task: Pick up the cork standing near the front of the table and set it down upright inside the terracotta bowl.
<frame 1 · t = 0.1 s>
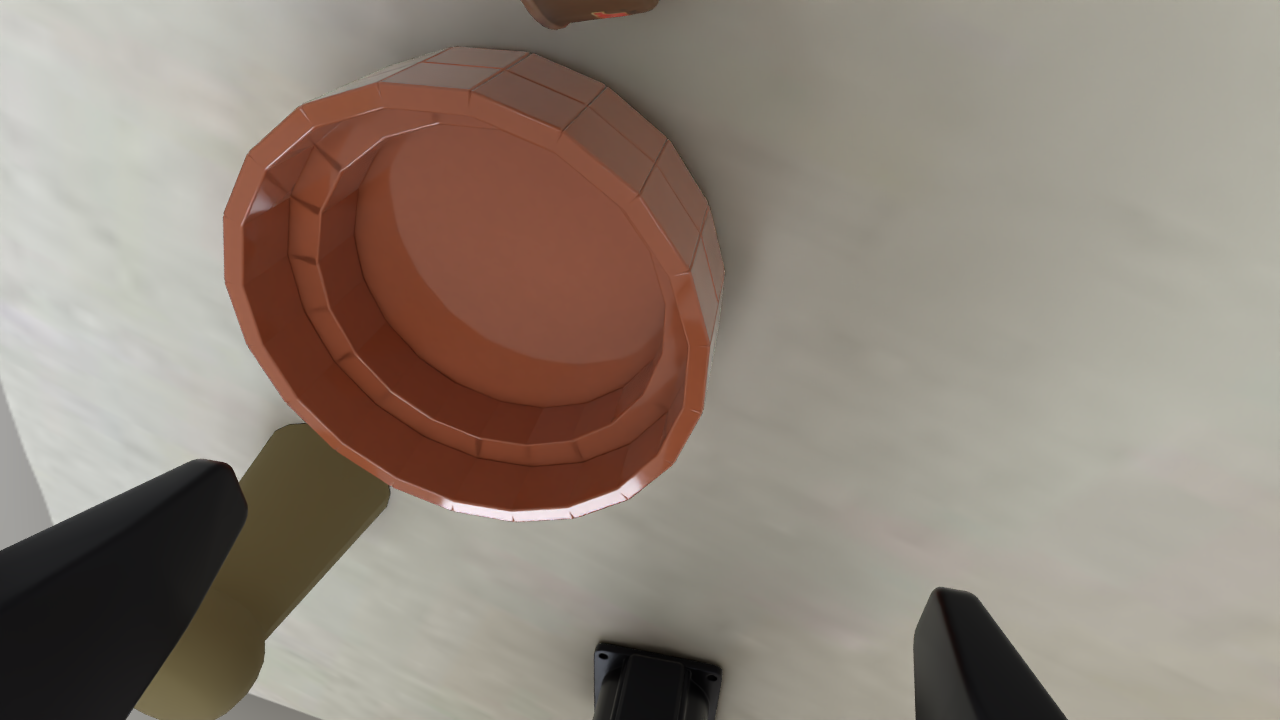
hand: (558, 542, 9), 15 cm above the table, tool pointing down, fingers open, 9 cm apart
cork: (330, 471, 32), on the table
bowl: (517, 267, 24), on the table
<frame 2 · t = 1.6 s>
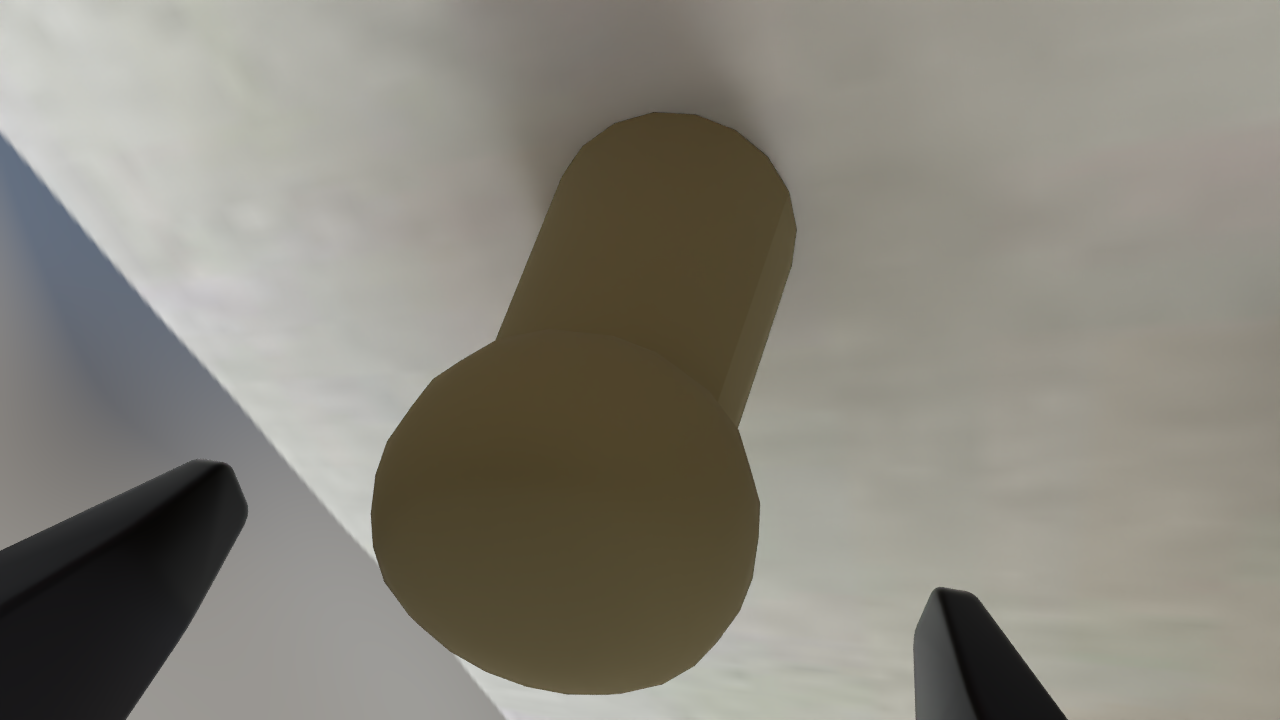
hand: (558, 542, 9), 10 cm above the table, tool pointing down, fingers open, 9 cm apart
cork: (672, 234, 17), on the table
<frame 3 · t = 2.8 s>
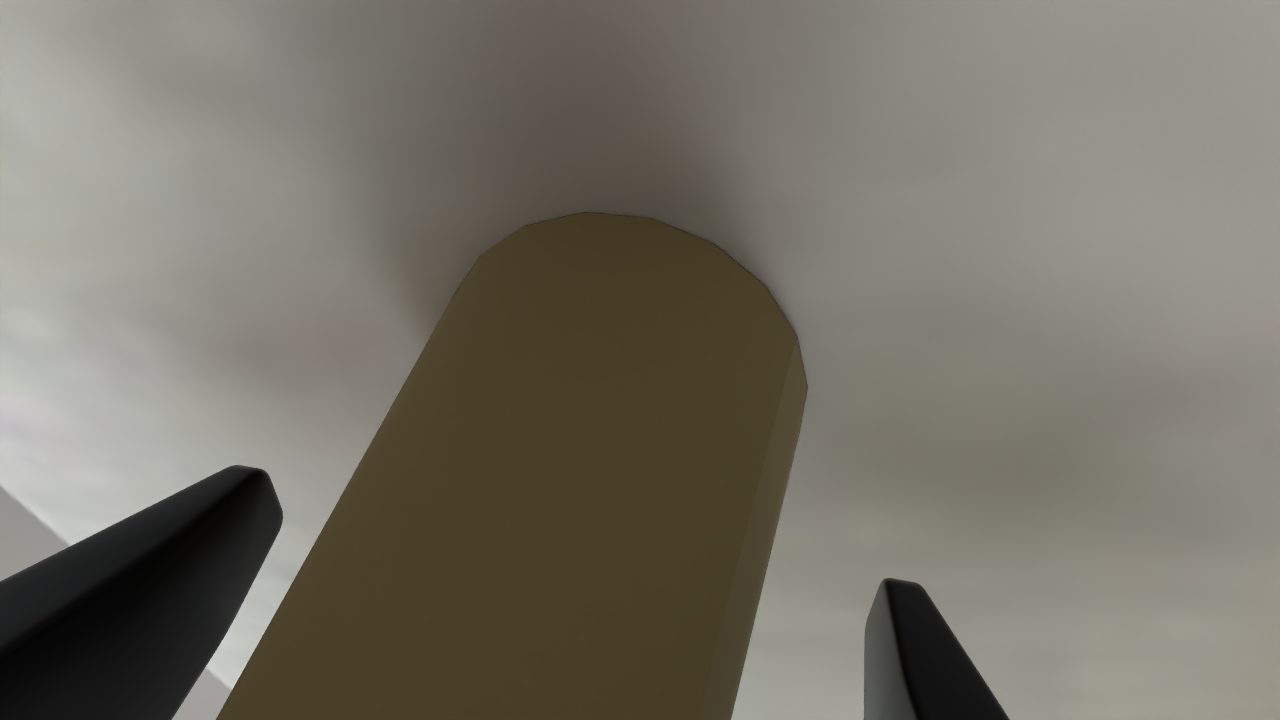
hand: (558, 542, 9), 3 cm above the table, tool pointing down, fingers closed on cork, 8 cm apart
cork: (621, 379, 12), on the table, touching gripper
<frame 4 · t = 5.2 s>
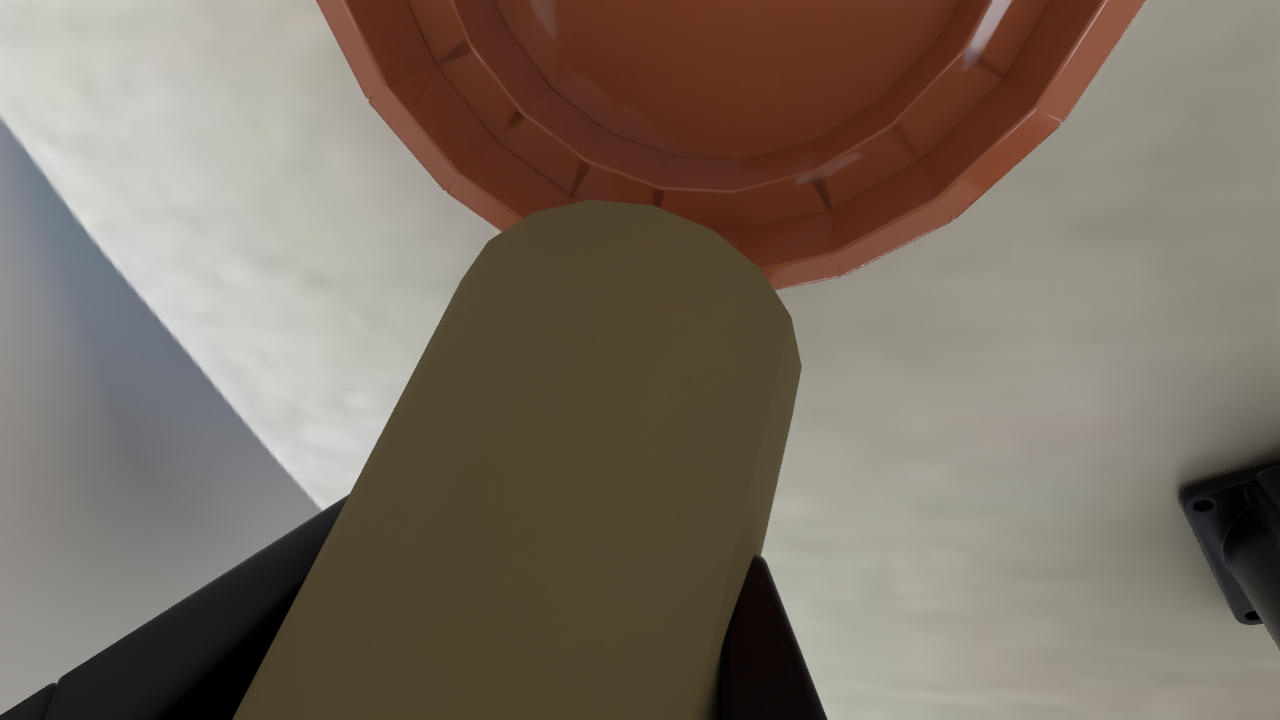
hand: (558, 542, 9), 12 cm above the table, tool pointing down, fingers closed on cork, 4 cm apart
cork: (622, 361, 12), point 8 cm above the table, touching gripper
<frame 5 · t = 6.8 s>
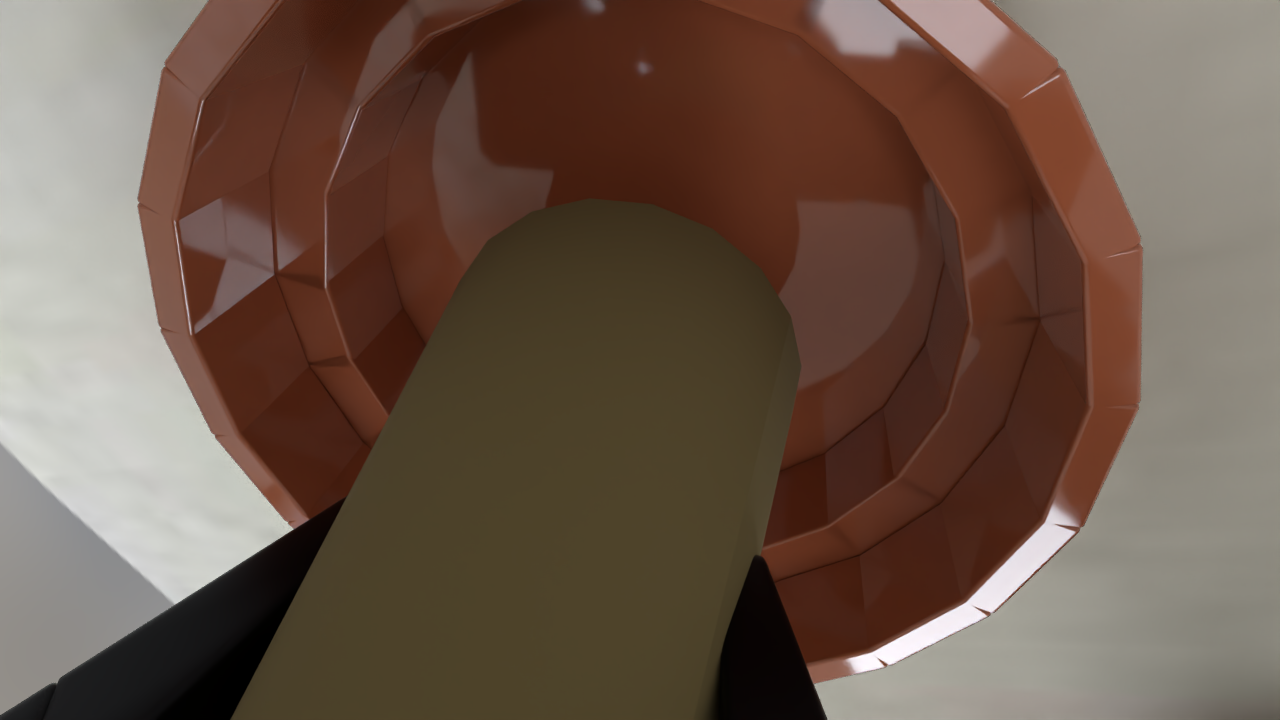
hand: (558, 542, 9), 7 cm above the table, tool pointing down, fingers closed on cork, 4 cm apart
cork: (622, 360, 12), point 3 cm above the table, touching gripper
bowl: (651, 272, 14), on the table
when the fingers open (4 cm above the table, at t = 7.8 s): cork stays where it is, resting on bowl.
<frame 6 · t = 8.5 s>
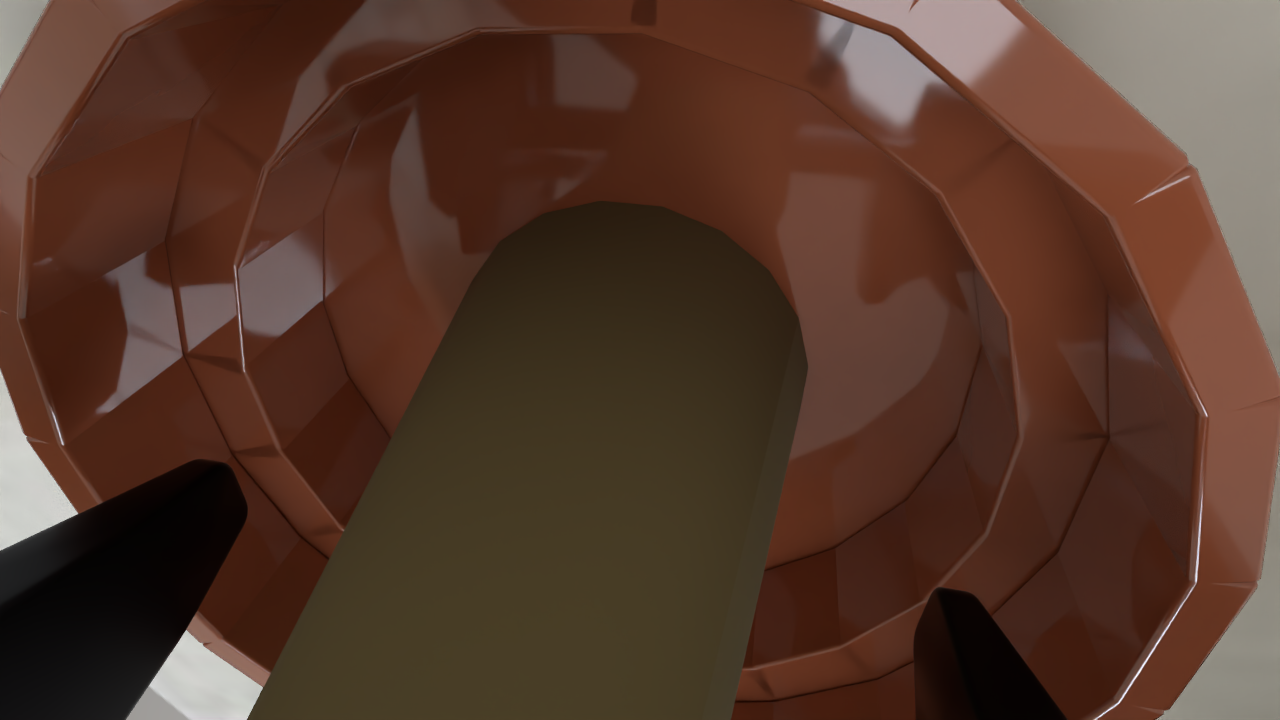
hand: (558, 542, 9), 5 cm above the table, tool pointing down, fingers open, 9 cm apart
cork: (631, 360, 12), resting on bowl
bowl: (634, 343, 12), on the table
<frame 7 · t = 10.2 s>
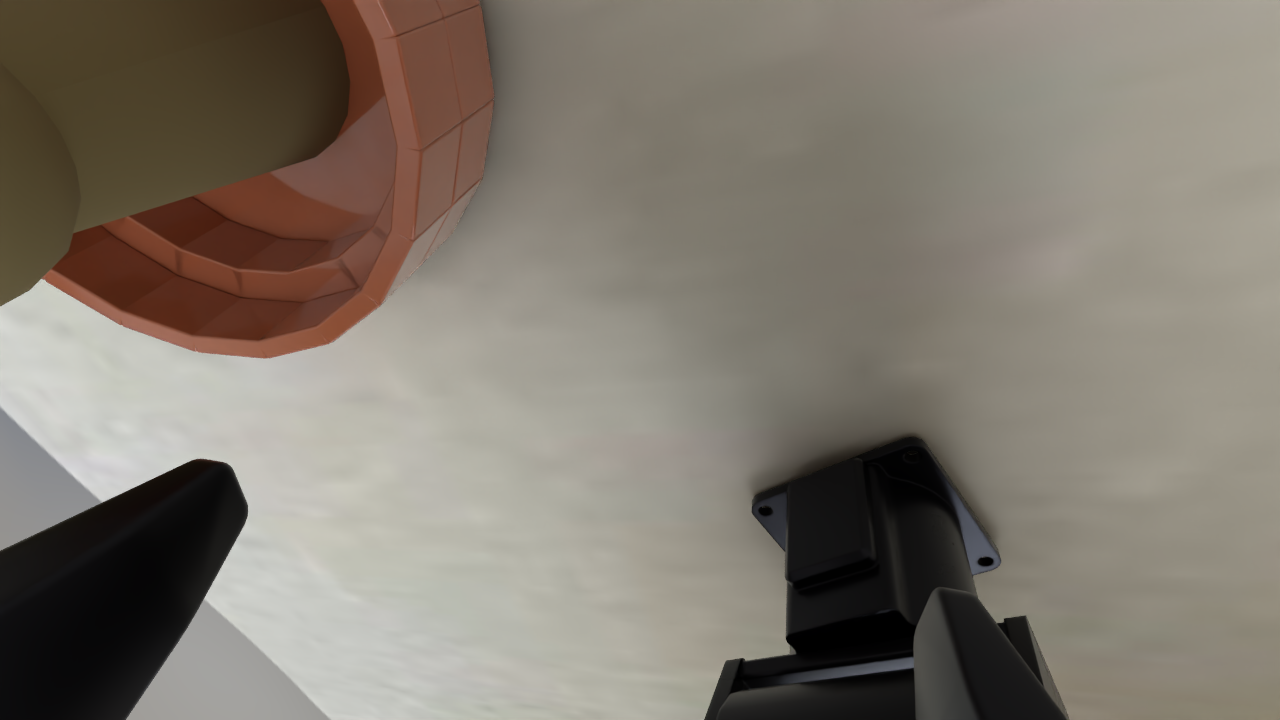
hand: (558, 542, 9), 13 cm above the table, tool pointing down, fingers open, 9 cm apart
cork: (250, 54, 19), resting on bowl
bowl: (258, 47, 19), on the table
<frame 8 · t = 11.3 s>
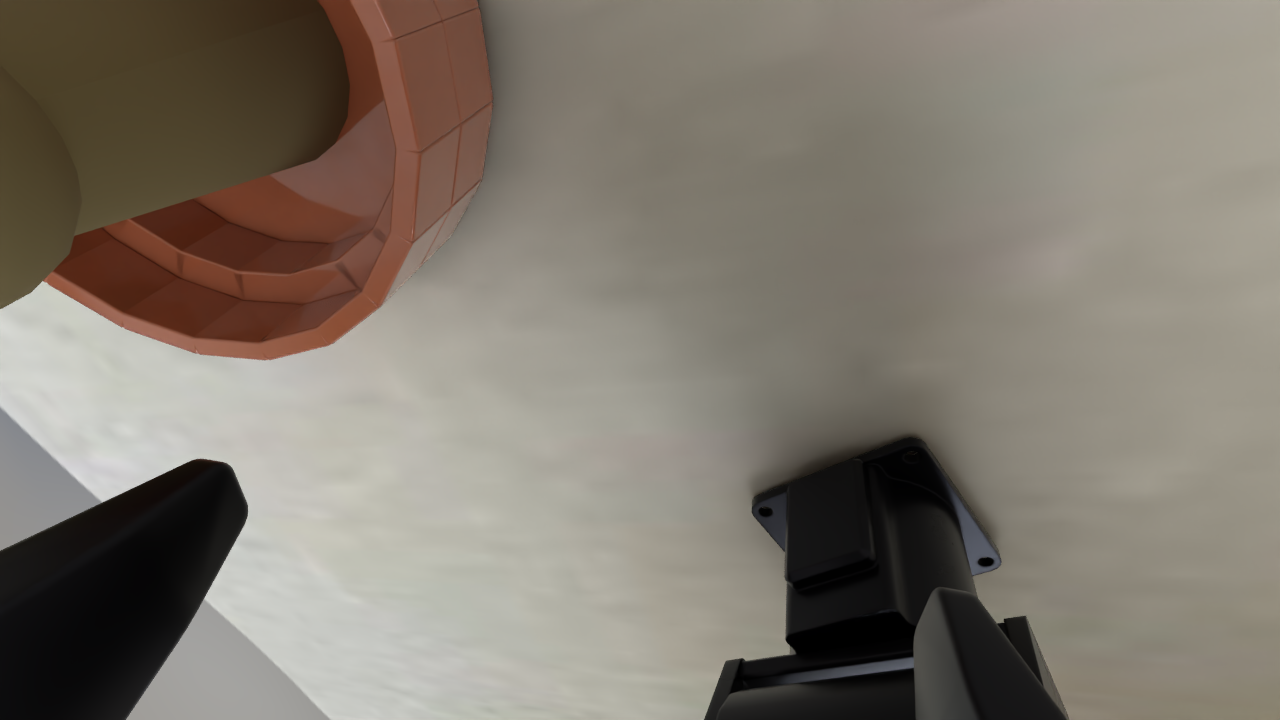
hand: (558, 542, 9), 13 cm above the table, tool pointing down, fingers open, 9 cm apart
cork: (251, 57, 19), resting on bowl
bowl: (258, 51, 20), on the table
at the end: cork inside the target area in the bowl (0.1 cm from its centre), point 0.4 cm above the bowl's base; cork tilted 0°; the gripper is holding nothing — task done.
